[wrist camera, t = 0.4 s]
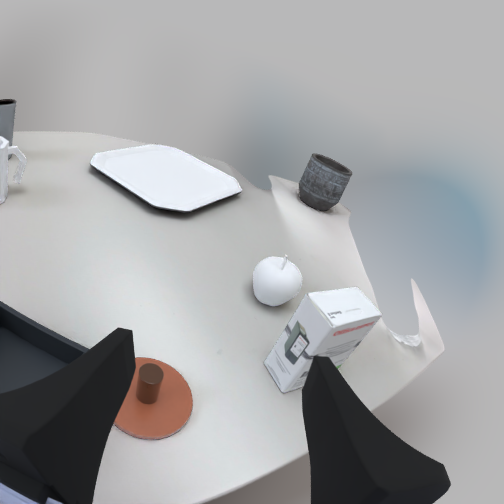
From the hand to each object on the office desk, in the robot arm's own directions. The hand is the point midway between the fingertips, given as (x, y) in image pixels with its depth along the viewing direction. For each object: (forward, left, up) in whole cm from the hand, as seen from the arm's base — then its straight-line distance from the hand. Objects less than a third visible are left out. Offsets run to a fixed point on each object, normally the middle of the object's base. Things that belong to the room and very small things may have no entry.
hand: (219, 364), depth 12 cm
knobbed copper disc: (+8, +4, -19) cm, 20 cm away
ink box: (+18, -12, -19) cm, 29 cm away
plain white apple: (+30, -7, -19) cm, 36 cm away
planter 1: (+42, +56, -19) cm, 72 cm away
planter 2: (+78, -18, -19) cm, 82 cm away
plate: (+58, +19, -19) cm, 63 cm away
